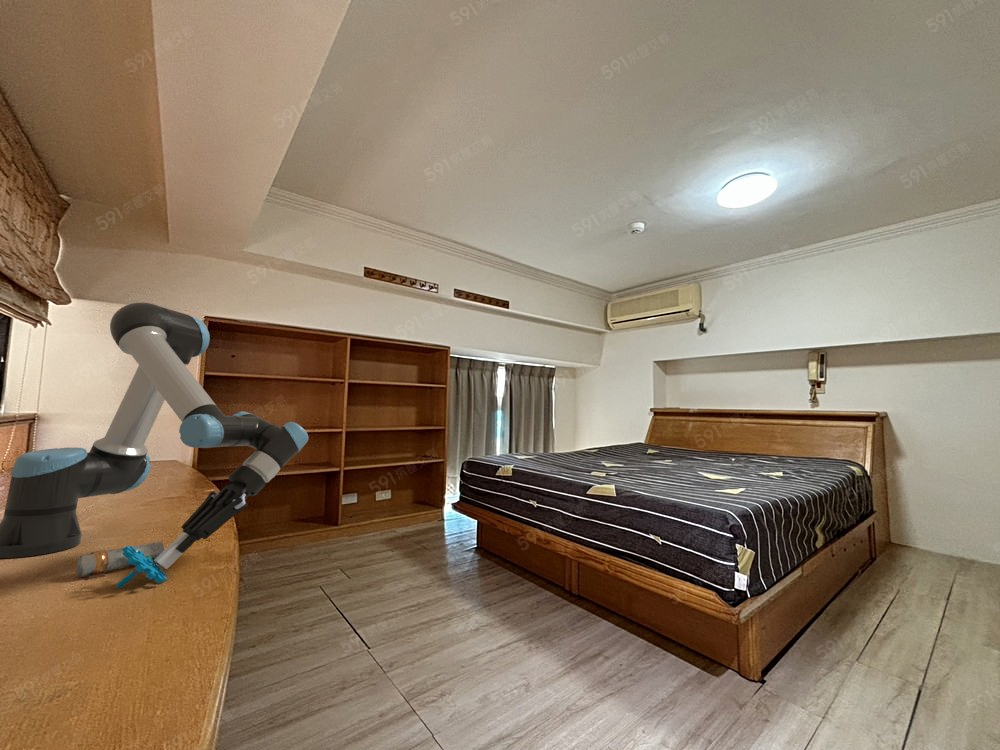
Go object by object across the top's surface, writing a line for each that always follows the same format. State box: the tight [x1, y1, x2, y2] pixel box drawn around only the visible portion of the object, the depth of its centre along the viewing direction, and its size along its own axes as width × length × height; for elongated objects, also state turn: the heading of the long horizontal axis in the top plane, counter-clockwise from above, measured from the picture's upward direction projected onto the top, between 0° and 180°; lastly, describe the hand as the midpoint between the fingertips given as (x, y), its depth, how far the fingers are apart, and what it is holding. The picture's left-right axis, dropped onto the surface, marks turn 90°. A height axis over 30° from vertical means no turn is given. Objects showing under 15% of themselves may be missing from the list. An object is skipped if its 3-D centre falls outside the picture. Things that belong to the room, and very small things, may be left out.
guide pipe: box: [76, 540, 165, 580], centre depth 86 cm, size 5×13×5 cm, turn 151°
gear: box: [115, 545, 168, 589], centre depth 79 cm, size 11×6×10 cm
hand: (160, 564), depth 81 cm, fingers closed
